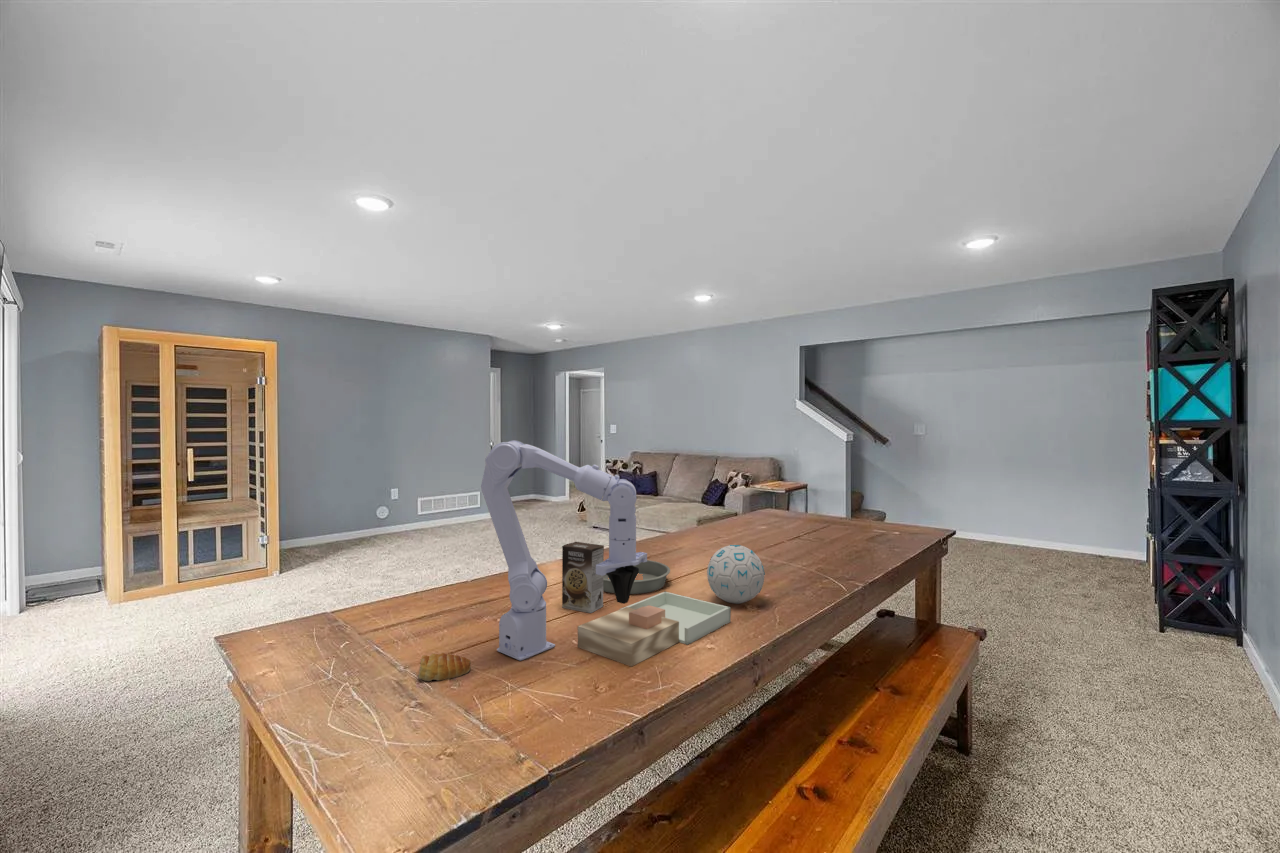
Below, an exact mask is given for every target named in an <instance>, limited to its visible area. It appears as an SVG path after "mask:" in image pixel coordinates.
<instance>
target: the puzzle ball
mask: <svg viewBox="0 0 1280 853" xmlns="http://www.w3.org/2000/svg"><path fill="white" fill-rule="evenodd" d="M706 575H707V577H706V578H707V582H708V585H709V587H710V589H711V591H712V592H713V593H714V594H715V596H716V597H718V598H719V599H721V600H722V601H724V602H726V603H730V604H736V605H740V604H743V603H747V602H749V601H752V599H755V597H756V596H757V595H758V594H759V593H761V590H762V588H763V585H764V582H765V575H766V573H765V568H764V565H763V562H762V561H761V559H760V557H759V556H758V555H757V554H756V553H755V552H754V551H753V550H752V549H750V548H748V547H746V546H744V545H741V544H729V545H725V546H724V547H721V548H720V549H718V550H716V552H714V554H713V555H712V556H711V557H710V560H709V562H708V564H707V569H706Z"/></svg>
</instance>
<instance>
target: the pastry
mask: <svg viewBox="0 0 1280 853" xmlns="http://www.w3.org/2000/svg"><path fill="white" fill-rule="evenodd" d="M471 663H472V662H471V660H470V659H469V658H467V657H465V656H461V655H455V654H452V653H451V654H450V653H449V654H448V653H447V654H446V653H444V652H441V653H431V654H430V655H427V654H426V655H422V656H421V658H420V663H419V664H420V666H419V671H418V672H419V673H418V675H417V677H418V679H419V680H422V681H424V682H432V680H436V681H444V680H449V679H454V678H458V677H461V676H463V675H465V674H468V673H469V672H470V670H471Z"/></svg>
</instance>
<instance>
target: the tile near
mask: <svg viewBox="0 0 1280 853" xmlns="http://www.w3.org/2000/svg"><path fill="white" fill-rule="evenodd" d="M661 617H662V611H659V610H655V609H651V608H648V607H644V606H643V607H641V608H638V609H636V610H633V611H631V612H629V624H631V625H635V626H638V627H641V628H644V629H649V628H651V627H653V626H655V625H658V624H660V623H661Z"/></svg>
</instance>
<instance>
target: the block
mask: <svg viewBox="0 0 1280 853" xmlns="http://www.w3.org/2000/svg"><path fill="white" fill-rule="evenodd" d="M625 607H626V606H625ZM622 608H623V609H621V608H619V609H620V610H619V609H618V610H616V611H613V612H610V613H608V614H606V615H603V616H600V617H597V618H595V619H593V620H590V621H588V622H585V623H582V624H580V625H577V648H579V649H582V650H584V651H588V652H589V653H593V654H595V655H598V656H601V657H605V658H606V659H610V660H613V661H614V662H618V663H620V664H623V665H626V666H629V667H631V668H632V667H634V666H636V665H638V664H640V663H641V662H644V661H645V660H647V659H649V658H651V657H653V656H655V655H657V654H658V653H660V652H662V651H664V650H667V649H668V648H671V647H672V646H674V645H677V644H678V643H680V642H679V621H675V620H672V619H668V618H664V617H661V623H660V624H658V625H655V626H653V627H651V628H649V629H644V628H641V627H638V626H635V625H631V624H629V612H631V611H633V610H636V609H632V608H628V607H626V608H624V607H622Z"/></svg>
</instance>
